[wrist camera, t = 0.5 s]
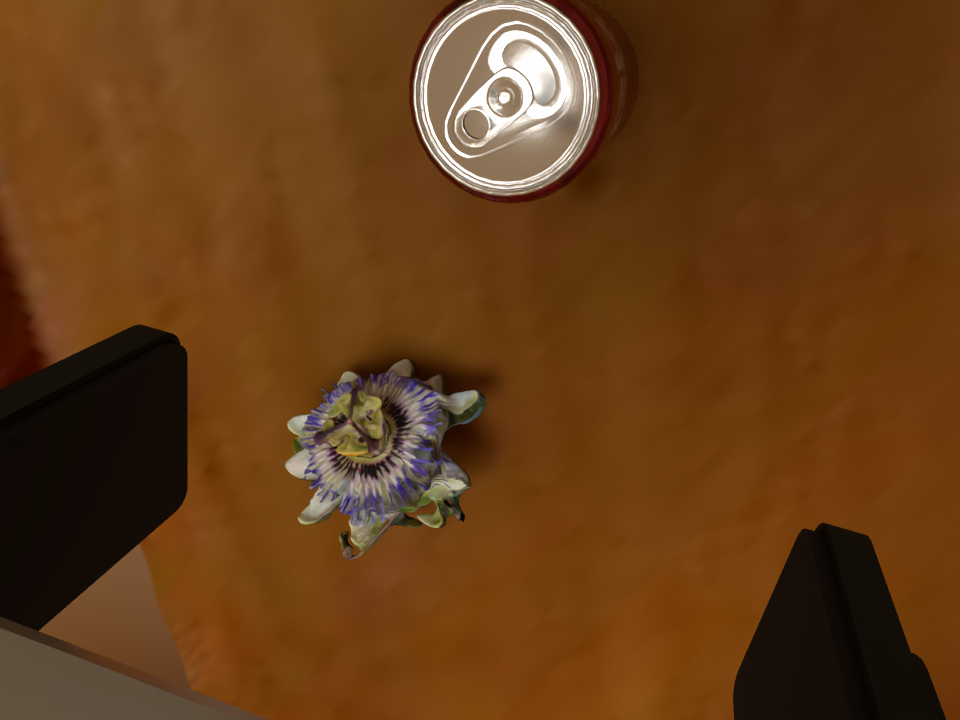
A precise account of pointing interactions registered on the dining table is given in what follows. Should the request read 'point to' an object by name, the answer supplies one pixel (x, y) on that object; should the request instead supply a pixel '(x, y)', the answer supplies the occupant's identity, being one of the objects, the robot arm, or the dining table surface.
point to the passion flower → (382, 452)
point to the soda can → (520, 93)
